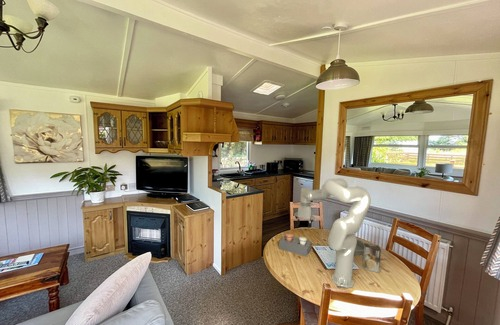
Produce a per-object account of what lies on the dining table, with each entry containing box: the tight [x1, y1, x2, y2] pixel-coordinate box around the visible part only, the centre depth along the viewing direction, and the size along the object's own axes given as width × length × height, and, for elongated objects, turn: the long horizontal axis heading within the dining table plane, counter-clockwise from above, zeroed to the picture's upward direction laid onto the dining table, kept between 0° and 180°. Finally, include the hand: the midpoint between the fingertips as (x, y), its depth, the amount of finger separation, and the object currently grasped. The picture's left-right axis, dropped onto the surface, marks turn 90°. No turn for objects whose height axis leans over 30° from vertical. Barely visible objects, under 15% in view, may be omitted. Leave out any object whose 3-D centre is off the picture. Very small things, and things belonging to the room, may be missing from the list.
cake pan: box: [354, 239, 364, 256], centre depth 170 cm, size 25×25×4 cm
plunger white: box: [298, 236, 308, 246], centre depth 162 cm, size 6×6×6 cm
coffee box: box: [362, 242, 382, 273], centre depth 142 cm, size 9×6×16 cm
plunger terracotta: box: [285, 232, 294, 242], centre depth 168 cm, size 6×6×6 cm
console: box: [278, 234, 313, 258], centre depth 165 cm, size 14×22×6 cm, turn 60°
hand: (303, 226), depth 161 cm, fingers open, 7 cm apart
